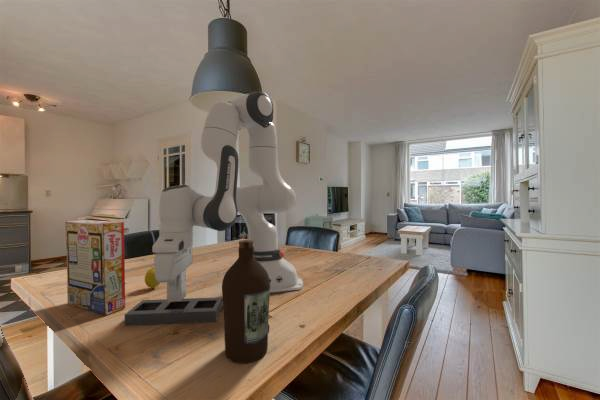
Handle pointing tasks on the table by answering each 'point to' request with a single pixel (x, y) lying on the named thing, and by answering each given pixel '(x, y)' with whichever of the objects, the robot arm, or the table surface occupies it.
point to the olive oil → (246, 307)
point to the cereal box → (95, 265)
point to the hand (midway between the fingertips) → (176, 288)
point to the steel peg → (181, 290)
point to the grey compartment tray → (174, 311)
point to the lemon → (151, 279)
